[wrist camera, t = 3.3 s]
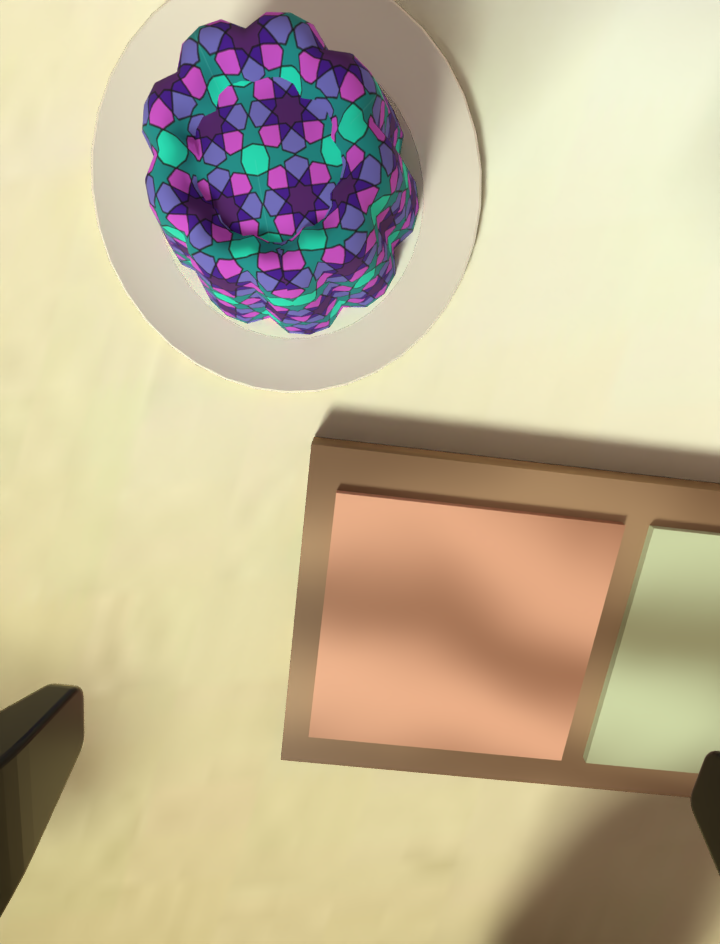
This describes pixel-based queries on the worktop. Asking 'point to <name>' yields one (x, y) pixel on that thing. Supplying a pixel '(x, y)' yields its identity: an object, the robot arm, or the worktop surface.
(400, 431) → the worktop surface
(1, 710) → the robot arm
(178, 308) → the pudding
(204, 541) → the worktop surface
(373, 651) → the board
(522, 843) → the worktop surface
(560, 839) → the worktop surface
